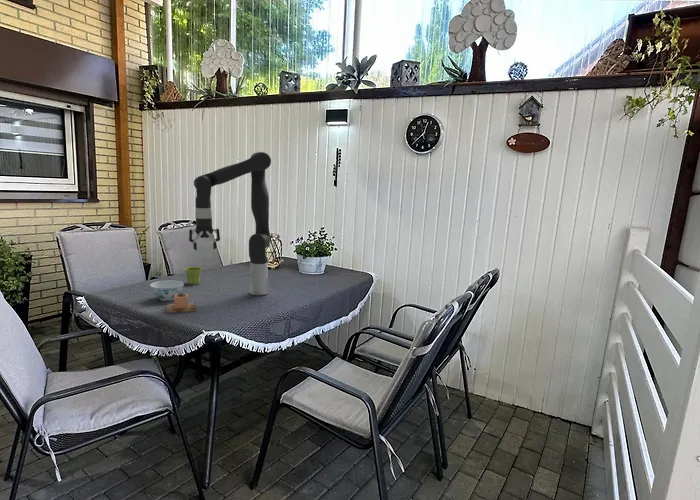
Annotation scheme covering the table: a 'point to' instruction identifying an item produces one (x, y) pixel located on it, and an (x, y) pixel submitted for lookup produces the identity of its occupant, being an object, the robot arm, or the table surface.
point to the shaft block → (190, 308)
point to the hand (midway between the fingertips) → (205, 249)
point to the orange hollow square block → (181, 301)
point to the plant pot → (193, 275)
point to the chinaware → (166, 289)
